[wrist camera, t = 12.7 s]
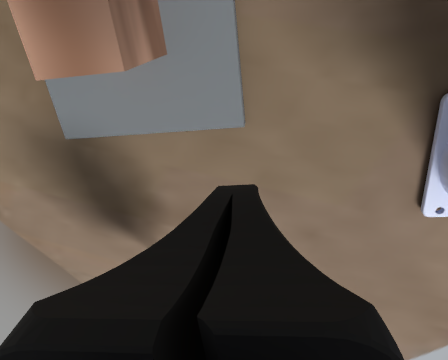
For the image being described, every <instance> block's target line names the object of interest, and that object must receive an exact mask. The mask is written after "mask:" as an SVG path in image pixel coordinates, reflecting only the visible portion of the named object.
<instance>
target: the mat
mask: <svg viewBox="0 0 448 360" xmlns="http://www.w3.org/2000/svg"><path fill="white" fill-rule="evenodd" d="M158 5H159V11H160V16H161V22H162V27H163V33H164V39H165V44H166V50H167V55H164V56H162V57H159V58H157V59H154V60H152V61H149V62H147V63H144V64H142V65H139V66H137V67H134V68H132V69H129V70H127V71H123V72H113V73H104V74H94V75H85V76H75V77H65V78H56V79H46V80H45V82H46V84H47V87H48V90H49V93H50V96H51V99H52V102H53V104H54V107H55V110H56V113H57V116H58V119H59V122H60V124H61V127H62V130H63V133H64V136H65V139H77V138H92V137H106V136H120V135H135V134H149V133H164V132H178V131H193V130H207V129H222V128H236V127H244V126H245V114H244V102H243V91H242V79H241V67H240V56H239V44H238V33H237V21H236V9H235V0H158Z"/></svg>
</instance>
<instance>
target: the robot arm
mask: <svg viewBox="0 0 448 360" xmlns="http://www.w3.org/2000/svg"><path fill="white" fill-rule="evenodd" d="M439 207H442V208H441V209H440V210H438V211H436V209H437V208H439ZM421 212H422V213H423V214H424V215H425V216H426V217H448V93H447V94H446V95H444V96H443V98H442V99H441V102H440V108H439V113H438V118H437V124H436V129H435V135H434V140H433V145H432V151H431V156H430V161H429V167H428V172H427V178H426V183H425V188H424V194H423V199H422V204H421ZM0 360H404V359H403V356H402V354H401V352H400V350H399V348H398V346H397V344H396V342H395V341H394V339H393V337H392V335H391V333H390V332H389V330H388V328H387V326H386V325H385V323H384V321H383V320H382V318H381V317H380V315H379V313H378V312H377V310H376V309H375V307H374V306H373V305H372V304H371V303H369V302H367V301H366V300H364V299H362V298H361V297H359V296H357V295H356V294H354V293H352V292H350V291H349V290H347V289H345V288H344V287H342V286H340V285H339V284H337V283H336V282H334V281H333V280H331V279H330V278H329V277H327V276H326V275H324V274H323V273H322V272H321V271H319V270H318V269H317V268H316V267H315V266H313V265H312V264H311V263H310V262H309V261H307V260H306V259H305V258H304V257H303V256H302V255H301V254H300V253H299V252H298V251H297V250H296V249H295V248H294V247H293V246H292V245H291V244H290V243H289V241H288V240H287V239H286V238H285V237H284V236H283V234H282V233H281V232H280V231H279V229H278V228H277V226H276V225H275V224H274V222H273V221H272V219H271V218H270V216H269V214H268V212H267V211H266V209H265V207H264V205H263V203H262V201H261V199H260V196H259V193H258V187H257V186H256V185H255V184H252V185H231V186H218V187H217V188H216V189H215V190H214V191H213V192H212V193H211V194H210V195H209V196H208V197H207V198H206V199H205V201H204V202H203V203H202V204H201V205H200V206H199V207H198V208H197V209H196V210H195V211H194V212H193V213H192V214H191V215H190V216H188V217H187V218H186V219H185V220H184V221H183V222H182V223H181V224H179V225H178V226H177V227H176V228H175V229H174V230H173V231H171V232H170V233H169V234H168V235H166V236H165V237H164V238H162V239H161V240H159V241H158V242H157V243H155V244H154V245H152V246H151V247H149V248H148V249H146V250H145V251H143V252H141V253H140V254H138V255H136V256H135V257H133V258H131V259H130V260H128V261H126V262H125V263H123V264H121V265H119V266H118V267H116V268H114V269H112V270H110V271H108V272H106V273H104V274H102V275H100V276H98V277H95V278H93V279H91V280H89V281H87V282H85V283H82V284H80V285H78V286H75V287H73V288H70V289H68V290H65V291H63V292H60V293H58V294H55V295H53V296H50V297H47V298H45V299H42V300H39V301H37V302H35V303H34V304H33V305H32V306H31V308H30V309H29V310H28V311H27V313H26V314H25V315H24V316H23V318H22V319H21V320H20V322H19V323H18V324H17V325H16V327H15V328H14V329H13V331H12V332H11V333H10V334H9V336H8V337H7V338H6V339H5V340H4V342H3V343H2V344H1V346H0Z"/></svg>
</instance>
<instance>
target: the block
mask: <svg viewBox="0 0 448 360" xmlns="http://www.w3.org/2000/svg"><path fill="white" fill-rule="evenodd" d="M7 1H8V4H9V7H10V10H11V12H12V15H13V18H14V21H15V23H16V26H17V29H18V32H19V34H20V37H21V40H22V43H23V46H24V48H25V51H26V54H27V57H28V59H29V62H30V65H31V68H32V70H33V73H34V76H35V79H36V80H46V79H56V78H65V77H75V76H85V75H94V74H104V73H113V72H123V71H127V70H129V69H132V68H134V67H137V66H139V65H142V64H144V63H147V62H149V61H152V60H154V59H157V58H159V57H162V56H164V55H167V50H166V44H165V39H164V33H163V27H162V22H161V16H160V11H159V5H158V0H7Z"/></svg>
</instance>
